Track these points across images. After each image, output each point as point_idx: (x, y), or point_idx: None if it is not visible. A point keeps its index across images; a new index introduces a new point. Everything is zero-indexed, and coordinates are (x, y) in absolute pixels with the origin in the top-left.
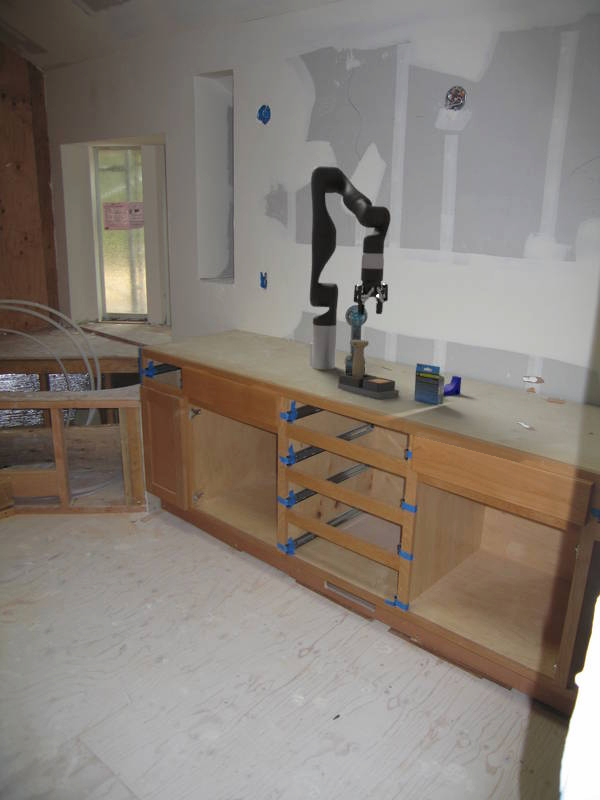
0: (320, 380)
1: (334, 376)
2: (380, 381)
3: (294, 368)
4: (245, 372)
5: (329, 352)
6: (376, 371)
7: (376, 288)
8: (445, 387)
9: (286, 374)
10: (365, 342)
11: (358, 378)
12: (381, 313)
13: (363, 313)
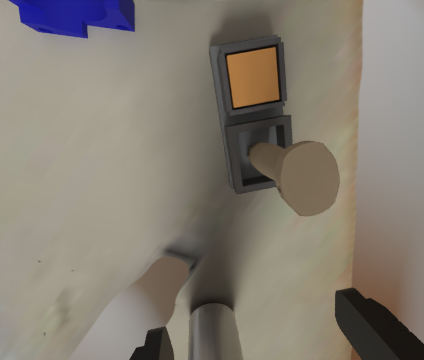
0: (263, 251)
1: (215, 274)
2: (255, 70)
3: (241, 349)
4: (334, 339)
5: (217, 339)
6: (102, 291)
7: None
8: (59, 18)
9: (285, 311)
10: (311, 141)
11: (285, 123)
12: (149, 330)
13: (356, 296)
